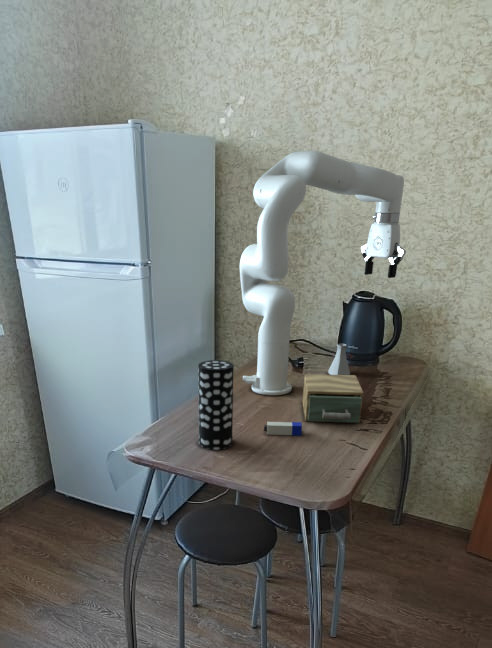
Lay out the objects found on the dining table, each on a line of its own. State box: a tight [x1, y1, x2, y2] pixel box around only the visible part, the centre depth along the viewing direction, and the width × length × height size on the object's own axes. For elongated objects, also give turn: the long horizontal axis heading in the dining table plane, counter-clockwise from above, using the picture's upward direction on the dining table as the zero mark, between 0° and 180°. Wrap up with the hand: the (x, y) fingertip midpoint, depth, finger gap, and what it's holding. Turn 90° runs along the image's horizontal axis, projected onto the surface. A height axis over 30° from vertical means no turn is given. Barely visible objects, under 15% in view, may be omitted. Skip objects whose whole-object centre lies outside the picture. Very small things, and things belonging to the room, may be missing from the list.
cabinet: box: [302, 373, 364, 424], centre depth 162 cm, size 16×15×9 cm
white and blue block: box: [263, 421, 303, 437], centre depth 149 cm, size 10×3×3 cm, turn 84°
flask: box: [327, 343, 351, 375], centre depth 194 cm, size 7×7×10 cm
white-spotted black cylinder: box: [197, 359, 234, 451], centre depth 140 cm, size 8×8×20 cm
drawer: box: [307, 394, 363, 424], centre depth 157 cm, size 20×13×7 cm
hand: (379, 275), depth 190 cm, fingers open, 9 cm apart
